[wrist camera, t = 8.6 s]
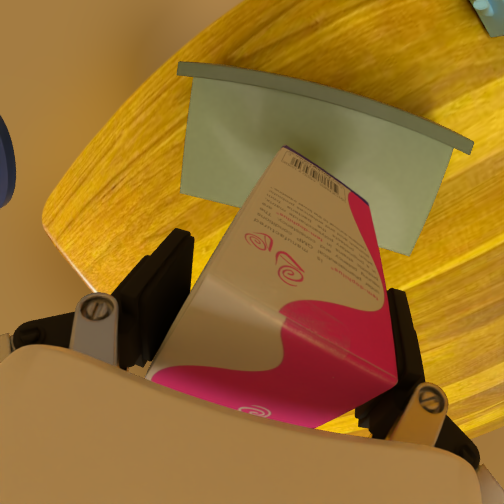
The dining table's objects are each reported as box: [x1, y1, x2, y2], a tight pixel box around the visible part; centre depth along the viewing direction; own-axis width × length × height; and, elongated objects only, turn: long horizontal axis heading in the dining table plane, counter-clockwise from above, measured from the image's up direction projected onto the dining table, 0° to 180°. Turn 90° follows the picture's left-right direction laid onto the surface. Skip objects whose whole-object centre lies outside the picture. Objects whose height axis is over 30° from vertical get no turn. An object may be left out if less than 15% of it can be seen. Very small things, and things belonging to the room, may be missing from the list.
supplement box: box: [145, 144, 398, 429], centre depth 13 cm, size 6×6×12 cm
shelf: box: [177, 61, 474, 256], centre depth 23 cm, size 20×11×9 cm, turn 80°
